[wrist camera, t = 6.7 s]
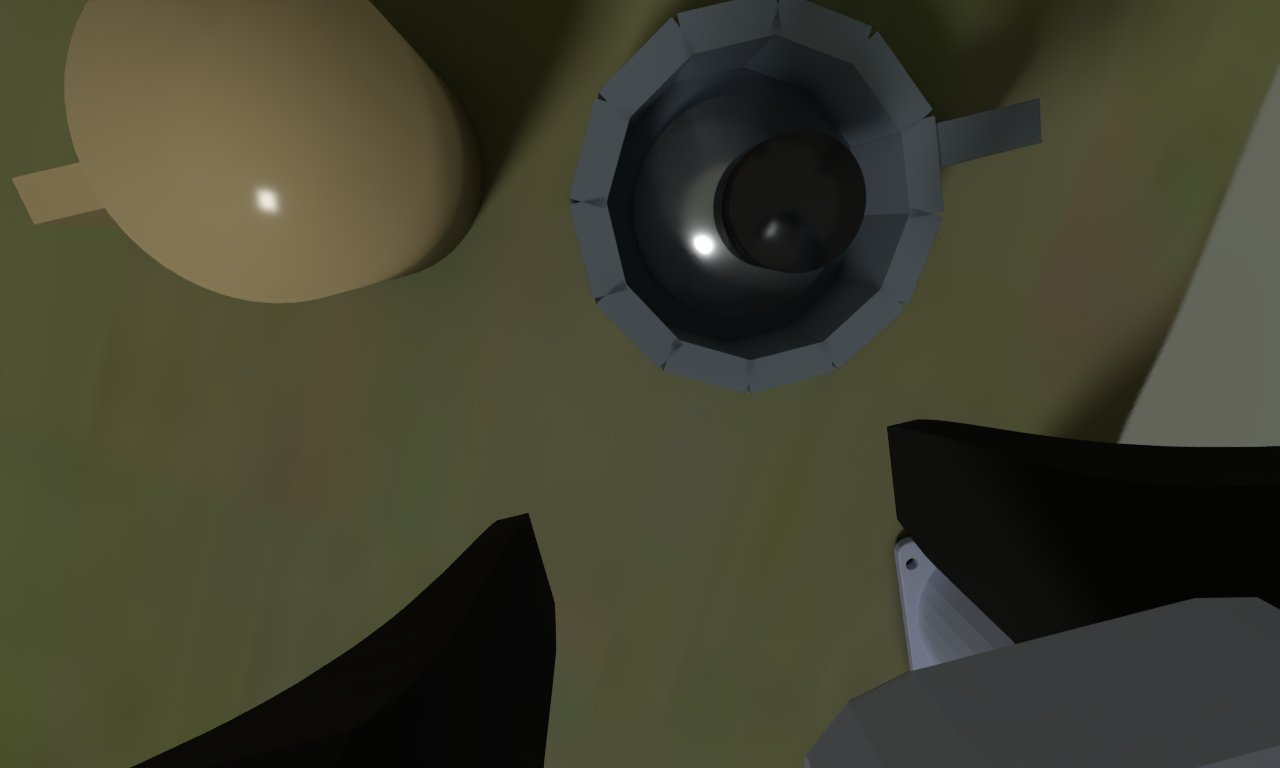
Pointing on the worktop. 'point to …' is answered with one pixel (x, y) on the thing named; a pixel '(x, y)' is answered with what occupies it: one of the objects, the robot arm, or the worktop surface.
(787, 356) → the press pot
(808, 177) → the plunger
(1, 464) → the worktop surface
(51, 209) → the beige rounded domed part
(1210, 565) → the robot arm
